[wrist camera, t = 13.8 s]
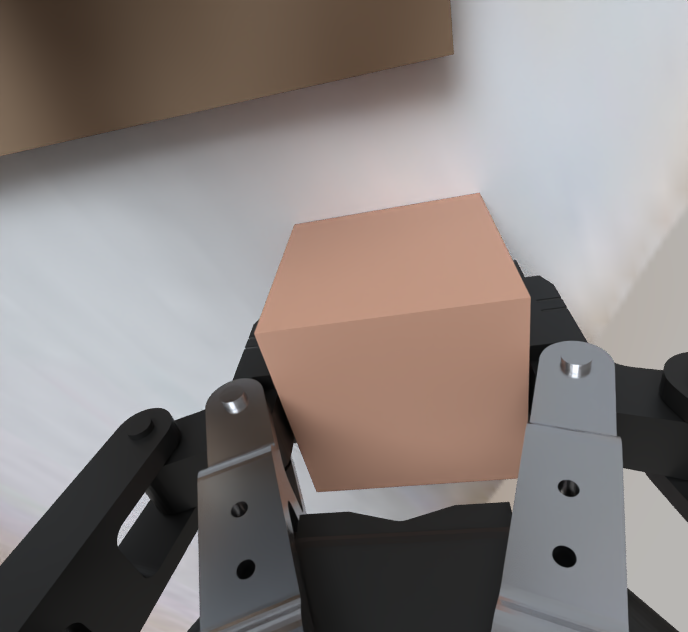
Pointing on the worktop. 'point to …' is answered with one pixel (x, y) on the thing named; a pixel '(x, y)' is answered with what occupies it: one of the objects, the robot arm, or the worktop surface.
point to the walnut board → (189, 56)
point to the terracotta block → (401, 347)
